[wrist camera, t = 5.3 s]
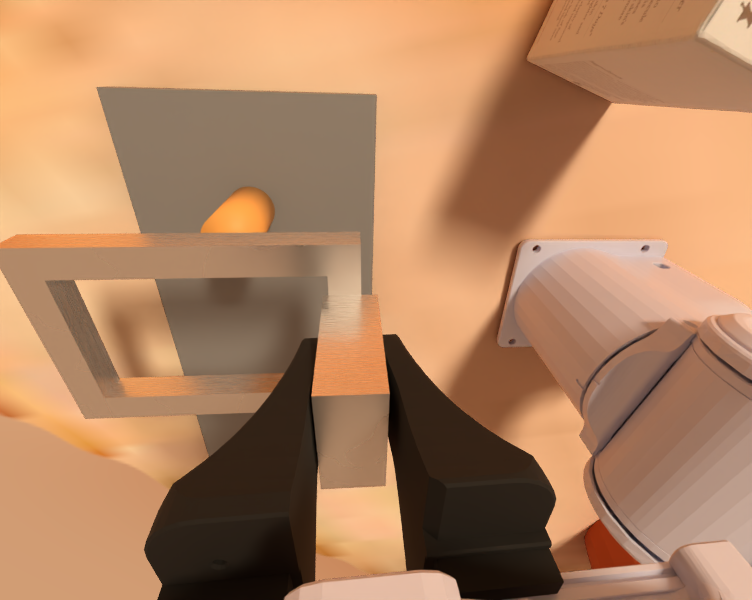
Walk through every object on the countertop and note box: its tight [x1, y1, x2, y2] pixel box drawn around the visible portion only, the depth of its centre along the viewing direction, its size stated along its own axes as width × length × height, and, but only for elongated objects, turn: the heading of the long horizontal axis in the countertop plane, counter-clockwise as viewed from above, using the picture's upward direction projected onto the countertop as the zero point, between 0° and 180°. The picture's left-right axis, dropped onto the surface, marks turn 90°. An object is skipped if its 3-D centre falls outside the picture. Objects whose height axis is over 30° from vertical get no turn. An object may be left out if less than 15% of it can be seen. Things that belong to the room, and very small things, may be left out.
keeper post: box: [200, 187, 275, 233], centre depth 18 cm, size 2×2×4 cm
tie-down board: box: [97, 87, 377, 465], centre depth 24 cm, size 12×27×1 cm, turn 178°
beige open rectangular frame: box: [0, 232, 390, 489], centre depth 13 cm, size 13×8×6 cm, turn 89°
